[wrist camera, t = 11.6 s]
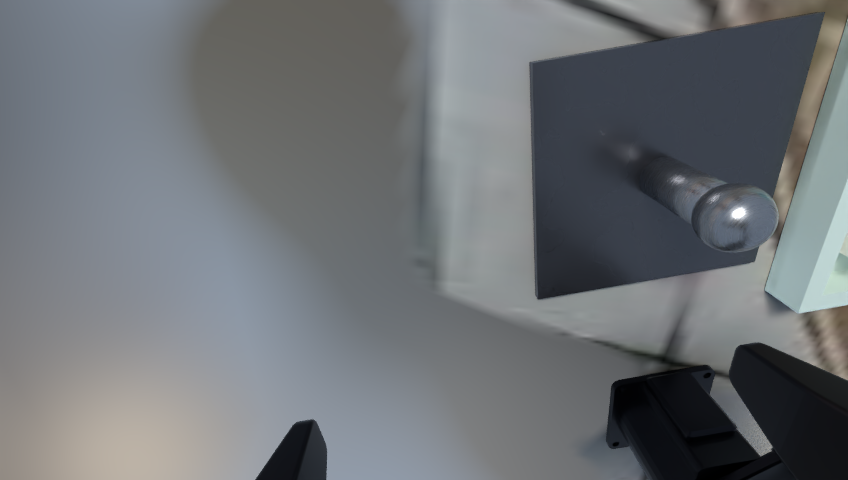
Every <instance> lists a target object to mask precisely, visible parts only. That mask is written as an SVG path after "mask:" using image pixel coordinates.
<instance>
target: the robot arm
mask: <svg viewBox="0 0 848 480" xmlns="http://www.w3.org/2000/svg"><path fill="white" fill-rule="evenodd" d="M714 376H715V372H714V370H713V369H712V368H711V367H710V366H708V365H703V366H697V367H691V368H685V369H679V370H674V371H668V372H662V373H656V374H651V375H645V376H639V377H633V378H627V379H622V380H618V381H615V382H614V383H613V384H612V386H611V396H610V406H609V416H608V426H607V436H606V442H607V444H608V446H609V447H610V448H611V449H616V448H622V447H628V446H630V448H631V450H632V452H633V453H634V455H635V457H636V459H637V460H638V462H639V464H640V466H641V467H642V469H643V471H644V473H645V474H646V476H647V478H648V480H848V380H845V379H843V378H841V377H839V376H836V375H834V374H832V373H829V372H827V371H825V370H823V369H820V368H818V367H816V366H813V365H811V364H809V363H807V362H804V361H802V360H800V359H797V358H795V357H793V356H791V355H788V354H786V353H784V352H781V351H779V350H777V349H774V348H772V347H770V346H768V345H765V344H763V343H750V344H744V345H740V346H738V347H737V348H736V350H735V353H734V356H733V360H732V363H731V367H730V370H729V377H730V381H731V383H732V385H733V387H734V388H735V390H736V391H737V393H738V394H739V396H740V397H741V399H742V400H743V402H744V404H745V405H746V407H747V408H748V410H749V411H750V413H751V414H752V416H753V417H754V419H755V420H756V422H757V424H758V425H759V427H760V428H761V430H762V431H763V433H764V434H765V436H766V437H767V439H768V440H769V442H770V443H771V445H772V446H773V448H772V449H771V450H772V451H771V452H769V453H767V454H765V455H763V456H761V457H760V455H759V454H758V453H757V452H756V451H755V450H754V448H753V447H752V446H751V445H750V444H749V443H748V441H747V440H746V439H745V438H744V437H743V436H742V435H741V433H740V432H739V431H738V430H737V429H736V428H737V427H736V425H735V424H734V422H733V421H732V420H731V419H730V418H729V417H728V416H727V414H726V413H725V412H724V411H723V410H722V409H721V408H720V406H719V405H718V404H717V403H716V402H715V401H714V399H713V398H712V397H711V396H710V395H709V394H710V391H711V387H712V383H713V380H714ZM326 470H327V448H326V443H325V441H324V438H323V436H322V434H321V431H320V429H319V426H318V424H317V422H316V421H315V420H305V421H300V422H296V423H295V424H294V425H293V426H292V428H291V429H290V430H289V432H288V433H287V435H286V436H285V437H284V439H283V440H282V442H281V443H280V445H279V446H278V448H277V449H276V450H275V452H274V453H273V455H272V456H271V458H270V459H269V461H268V462H267V464H266V465H265V466H264V468H263V469H262V471H261V472H260V474H259V475H258V477H257V478H256V479H255V480H326Z"/></svg>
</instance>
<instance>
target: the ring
mask: <svg viewBox="0 0 848 480" xmlns="http://www.w3.org/2000/svg"><path fill="white" fill-rule="evenodd" d="M839 253H841V254H843V255H845V256H847V257H848V232H847V234H846V237H845V239H844V242H843V244H842V247H841V249H840V252H839Z"/></svg>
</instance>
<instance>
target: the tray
mask: <svg viewBox="0 0 848 480" xmlns="http://www.w3.org/2000/svg"><path fill="white" fill-rule="evenodd" d="M847 232H848V19H847V23H846V26H845V29H844V32H843V36H842V39H841V42H840V45H839V49H838V52H837V55H836V58H835V62H834V65H833V68H832V71H831V75H830V78H829V81H828V84H827V88H826V91H825V94H824V97H823V101H822V104H821V107H820V111H819V114H818V117H817V120H816V124H815V127H814V130H813V133H812V137H811V140H810V143H809V146H808V150H807V153H806V156H805V159H804V163H803V166H802V169H801V172H800V176H799V179H798V182H797V185H796V189H795V192H794V195H793V198H792V202H791V205H790V208H789V211H788V215H787V218H786V221H785V224H784V228H783V231H782V234H781V237H780V241H779V244H778V247H777V251H776V254H775V257H774V260H773V264H772V267H771V270H770V273H769V277H768V280H767V283H766V286H765V291H767V292H768V293H770V294H771V295H772V296H774V297H775V298H777V299H778V300H780V301H781V302H782V303H784V304H785V305H787V306H788V307H790V308H791V309H792V310H794V311H795V312H797V313H804V312H810V311H816V310H821V309H827V308H833V307H839V306H844V305H848V257H847V256H845V255H843V254H841V253H839V252H840V249H841V247H842V244H843V242H844V239H845V237H846V234H847Z"/></svg>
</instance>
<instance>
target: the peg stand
mask: <svg viewBox="0 0 848 480" xmlns="http://www.w3.org/2000/svg"><path fill="white" fill-rule="evenodd" d="M824 14H825V12H815V13H809V14H804V15H798V16H792V17H786V18H781V19H775V20H769V21H763V22H758V23H752V24H746V25H741V26H735V27H729V28H723V29H718V30H712V31H706V32H700V33H695V34H689V35H683V36H677V37H672V38H666V39H660V40H654V41H649V42H643V43H637V44H631V45H626V46H620V47H614V48H608V49H603V50H597V51H591V52H585V53H580V54H574V55H568V56H562V57H557V58H551V59H545V60H539V61H534V62H530V101H531V141H532V180H533V219H534V259H535V295H536V297H537V299H542V298H548V297H554V296H560V295H565V294H571V293H577V292H583V291H588V290H594V289H600V288H606V287H612V286H617V285H623V284H629V283H635V282H640V281H646V280H652V279H658V278H663V277H669V276H675V275H681V274H687V273H692V272H698V271H704V270H710V269H715V268H721V267H727V266H733V265H739V264H744V263H750V262H755V259H756V255H757V252H758V248H759V246H760V245H761V244H763V243H764V242H766V241H767V240H768V239H769V238H770V237H771V236H772V234H773V233H774V231H775V229H776V227H777V224H778V218H779V214H778V209H777V206H776V204H775V202H774V200H773V199H772V198H773V195H774V191H775V188H776V184H777V181H778V177H779V174H780V170H781V166H782V163H783V159H784V156H785V152H786V149H787V145H788V142H789V138H790V134H791V131H792V127H793V124H794V120H795V117H796V113H797V110H798V106H799V103H800V99H801V95H802V92H803V88H804V85H805V81H806V78H807V74H808V71H809V67H810V63H811V60H812V56H813V53H814V49H815V46H816V42H817V39H818V35H819V31H820V28H821V24H822V21H823V17H824Z"/></svg>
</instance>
